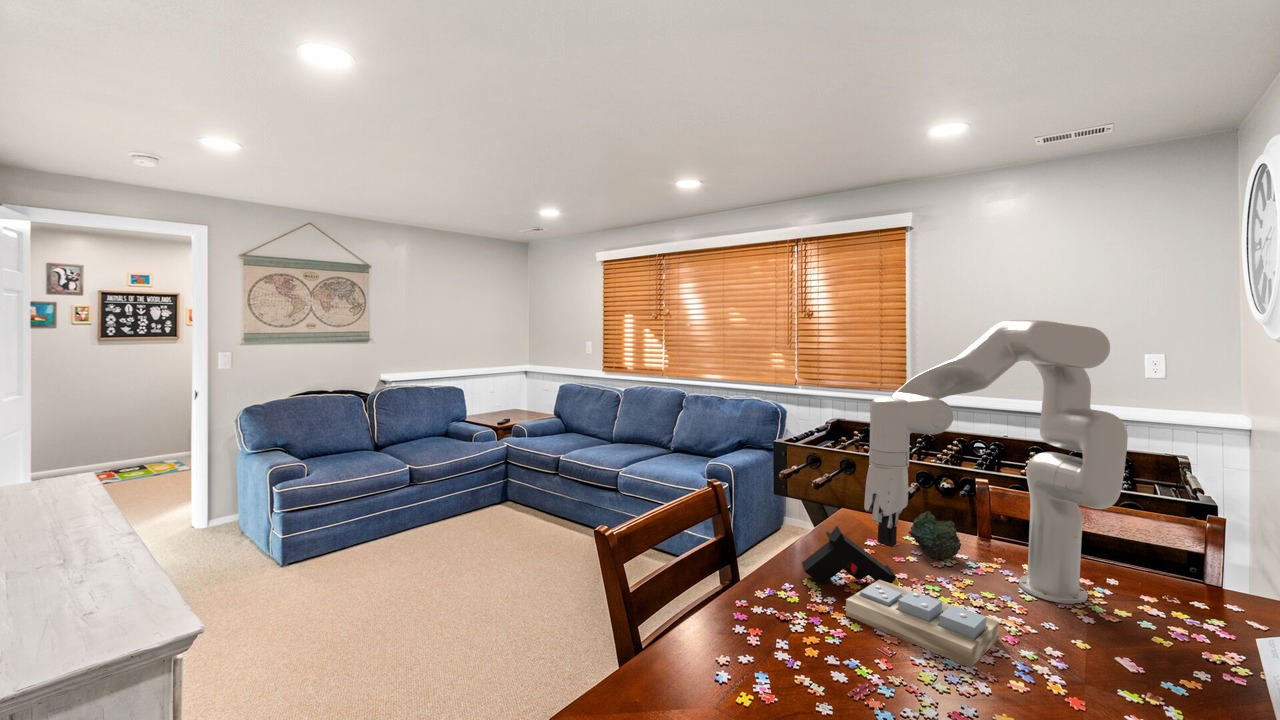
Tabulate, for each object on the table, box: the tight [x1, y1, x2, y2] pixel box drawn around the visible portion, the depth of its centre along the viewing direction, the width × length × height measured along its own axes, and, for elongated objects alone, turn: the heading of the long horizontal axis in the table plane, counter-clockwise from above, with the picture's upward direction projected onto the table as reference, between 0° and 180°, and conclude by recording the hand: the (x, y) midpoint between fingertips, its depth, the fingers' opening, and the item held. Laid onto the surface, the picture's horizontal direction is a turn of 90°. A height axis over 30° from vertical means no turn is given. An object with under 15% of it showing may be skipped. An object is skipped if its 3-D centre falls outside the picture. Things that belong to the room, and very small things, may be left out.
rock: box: [908, 510, 962, 561], centre depth 152 cm, size 14×11×10 cm
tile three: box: [860, 582, 902, 607], centre depth 121 cm, size 6×6×3 cm
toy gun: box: [801, 525, 900, 586], centre depth 135 cm, size 5×18×12 cm
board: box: [845, 580, 1000, 669], centre depth 115 cm, size 14×24×4 cm, turn 40°
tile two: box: [898, 590, 943, 623], centre depth 115 cm, size 6×6×3 cm
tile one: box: [940, 604, 987, 640], centre depth 109 cm, size 6×6×3 cm
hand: (886, 544), depth 120 cm, fingers closed
